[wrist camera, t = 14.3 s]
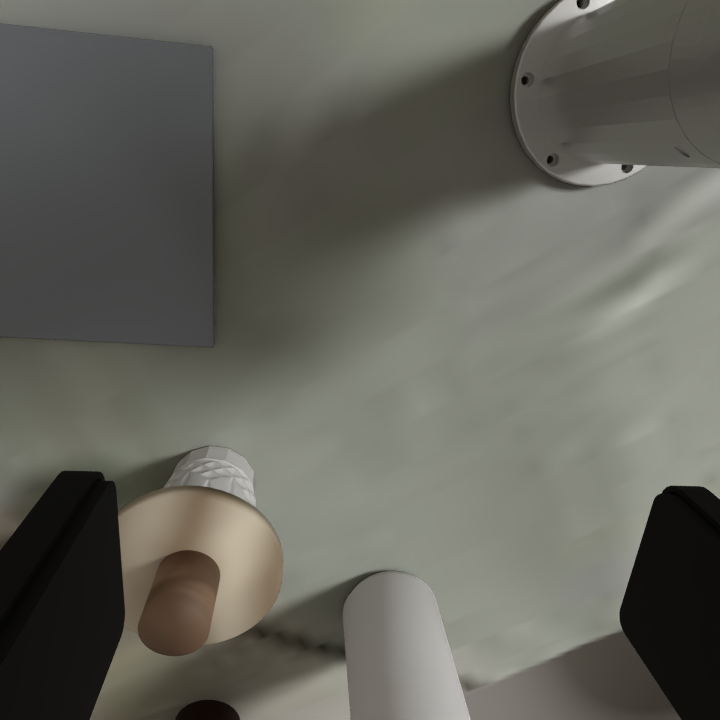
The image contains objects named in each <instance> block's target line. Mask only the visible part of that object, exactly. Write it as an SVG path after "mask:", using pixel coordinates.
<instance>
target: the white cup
mask: <svg viewBox="0 0 720 720" xmlns="http://www.w3.org/2000/svg"><path fill="white" fill-rule="evenodd" d="M184 485H192V486H204V487H210V488H215V489H218V490H222V491H225V492H228V493H230V494H233V495H235V496H237V497H239V498H241V499H243V500H245V501H247V502H248V503H249V504H251V505H252V506H254V507H255V477H254V471H253V469H252V468H251V467H250V465H249V464H248V462H247V461H246V459H245V458H244V457H243V456H241V455H239V454H237V453H236V452H234V451H232V450H231V449H229V448H222V447H214V446H208V447H204V448H200V449H197V450H193V451H191V452H190V453H189V454H187V455H186V456H185V457H184V458H183V459H181V460H180V461H179V462H178V464H177V466H176V468H175V470H174V472H173V474H172V476H171V477H170V479H169V480H168V481H167V483H166V484H165V486H164V488H166V487H172V486H184Z"/></svg>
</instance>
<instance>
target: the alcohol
mask: <svg viewBox="0 0 720 720" xmlns="http://www.w3.org/2000/svg"><path fill="white" fill-rule="evenodd" d="M343 627H344V640H345V653H346V665H347V678H348V691H349V703H350V716H351V720H471V719H470V716H469V713H468V709H467V705H466V702H465V699H464V695H463V692H462V688H461V685H460V681H459V678H458V674H457V671H456V668H455V664H454V661H453V657H452V654H451V650H450V647H449V643H448V640H447V637H446V633H445V630H444V626H443V623H442V619H441V616H440V612H439V609H438V606H437V602H436V599H435V596H434V594H433V592H432V590H431V589H430V588H429V586H428V585H427V584H425V583H424V582H423V581H422V580H420V579H418V578H416V577H415V576H413V575H411V574H408V573H405V572H400V571H384V572H380V573H376V574H374V575H371V576H369V577H367V578H366V579H364V580H362V581H361V582H360V583H359V584H358V585H357V586H356V587H355V588H354V589H353V591H352V592H351V593H350V594H349V596H348V597H347V599H346V601H345V604H344V608H343Z"/></svg>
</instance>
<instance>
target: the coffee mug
mask: <svg viewBox="0 0 720 720" xmlns="http://www.w3.org/2000/svg"><path fill="white" fill-rule="evenodd" d="M176 720H240V718H239V715H238V713H237V712H236V711H235V710H234V708H232V707H231V706H229V705H228V704H226V703H223V702H220V701H215V700H202V701H197V702H194V703H191V704H189V705H187V706H186V707H184V708H183V709H182V710H181V711H180V712H179V713H178V715H177V717H176Z"/></svg>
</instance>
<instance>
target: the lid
mask: <svg viewBox="0 0 720 720" xmlns="http://www.w3.org/2000/svg"><path fill="white" fill-rule="evenodd" d="M118 522H119V535H120V549H121V562H122V576H123V589H124V603H125V621H124V626H125V627H126V628H127V629H129V630H131V631H133V632H134V633H136V634H138V635H139V637H140V639H141V641H142V642H143V643H144V645H146V646H147V647H148V648H149V649H151V650H152V651H154V652H156V653H159V654H162V655H167V656H182V655H186V654H190V653H192V652H194V651H196V650H198V649H199V648H200V647H201V646H203V645H209V644H214V643H219V642H222V641H225V640H228V639H231V638H233V637H236V636H238V635H240V634H242V633H244V632H246V631H247V630H249V629H250V628H252V627H253V626H254V625H256V624H257V623H258V622H259V621H260V620H261V619H262V618H264V616H265V615H266V614H267V613H268V612H269V611H270V609H271V608H272V606H273V604H274V603H275V601H276V599H277V596H278V594H279V592H280V588H281V584H282V573H283V552H282V548H281V543H280V540H279V538H278V536H277V533H276V531H275V530H274V528H273V527H272V525H271V523H270V522H269V521H268V520H267V519H266V517H265V516H264V515H263V514H262V513H261V512H260V511H259V510H257V509H256V508H255V507H254V506H252V505H251V504H249V503H248V502H247V501H245V500H243V499H241V498H239V497H237V496H235V495H233V494H230V493H228V492H225V491H222V490H218V489H215V488H210V487H204V486H192V485H184V486H172V487H166V488H161V489H158V490H155V491H151V492H149V493H146V494H144V495H142V496H139V497H138V498H136V499H134V500H133V501H131V502H129V503H128V504H127V505H125V506H124V507H123V508H122V509H120V510H119V511H118Z"/></svg>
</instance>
